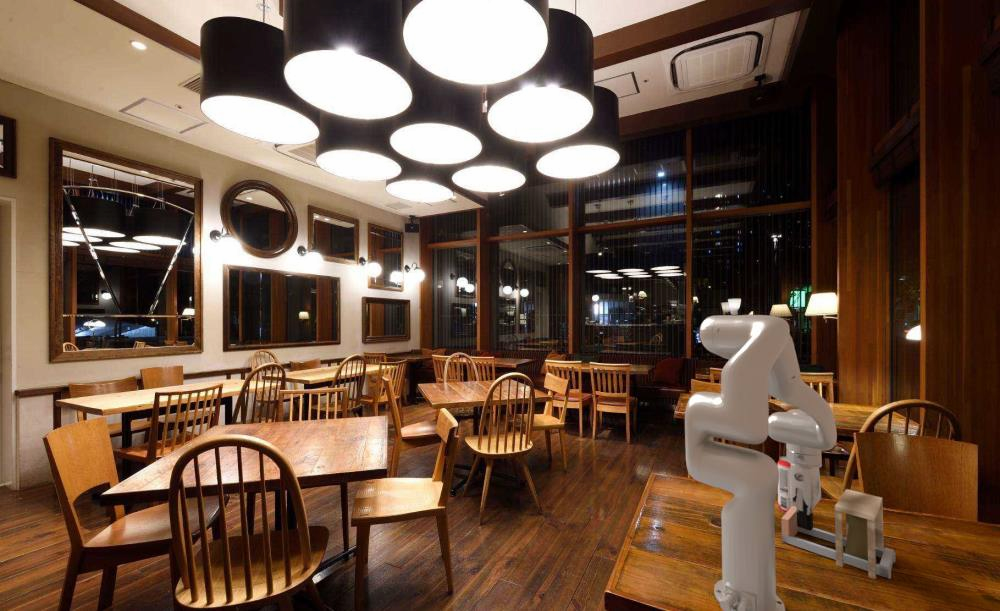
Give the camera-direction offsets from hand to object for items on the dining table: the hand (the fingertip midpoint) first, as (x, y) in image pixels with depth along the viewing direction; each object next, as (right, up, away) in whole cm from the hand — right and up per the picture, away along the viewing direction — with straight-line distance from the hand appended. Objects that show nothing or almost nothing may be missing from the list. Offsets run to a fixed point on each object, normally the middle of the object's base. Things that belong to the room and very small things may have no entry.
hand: (805, 527), depth 109 cm
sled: (+4, -3, -5) cm, 7 cm away
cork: (+7, -4, -8) cm, 12 cm away
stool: (+7, -3, -8) cm, 12 cm away
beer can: (+7, -4, +16) cm, 18 cm away
